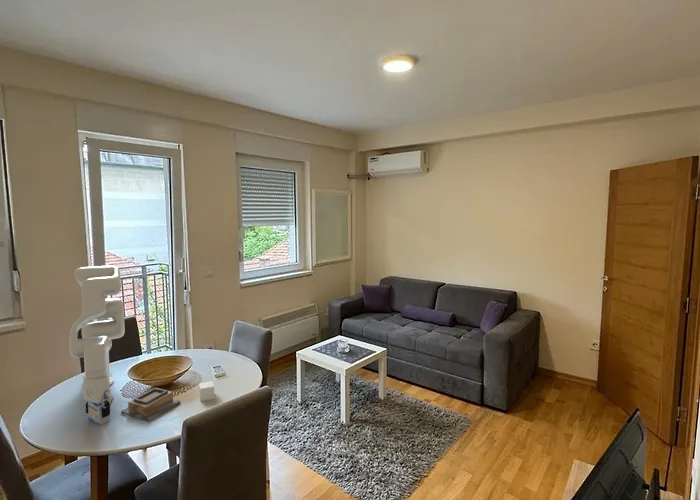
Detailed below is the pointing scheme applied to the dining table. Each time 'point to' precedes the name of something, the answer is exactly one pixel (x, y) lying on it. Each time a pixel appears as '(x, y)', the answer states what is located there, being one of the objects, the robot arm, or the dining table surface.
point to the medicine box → (97, 413)
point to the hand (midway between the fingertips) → (98, 413)
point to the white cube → (206, 391)
